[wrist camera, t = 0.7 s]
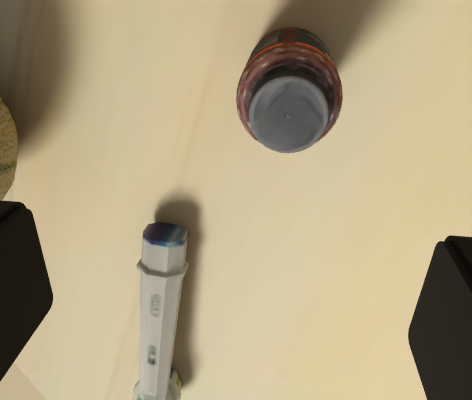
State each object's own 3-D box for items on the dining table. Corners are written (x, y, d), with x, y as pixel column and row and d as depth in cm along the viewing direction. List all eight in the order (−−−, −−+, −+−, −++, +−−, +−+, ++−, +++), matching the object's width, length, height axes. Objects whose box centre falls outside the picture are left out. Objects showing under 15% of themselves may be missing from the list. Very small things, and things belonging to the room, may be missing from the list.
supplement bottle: (236, 90, 32) (209, 143, 22) (269, 11, 29) (255, 30, 19) (307, 122, 32) (313, 188, 22) (346, 47, 29) (373, 85, 19)
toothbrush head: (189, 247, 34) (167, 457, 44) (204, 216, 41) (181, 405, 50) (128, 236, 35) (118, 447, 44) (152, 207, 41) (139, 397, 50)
